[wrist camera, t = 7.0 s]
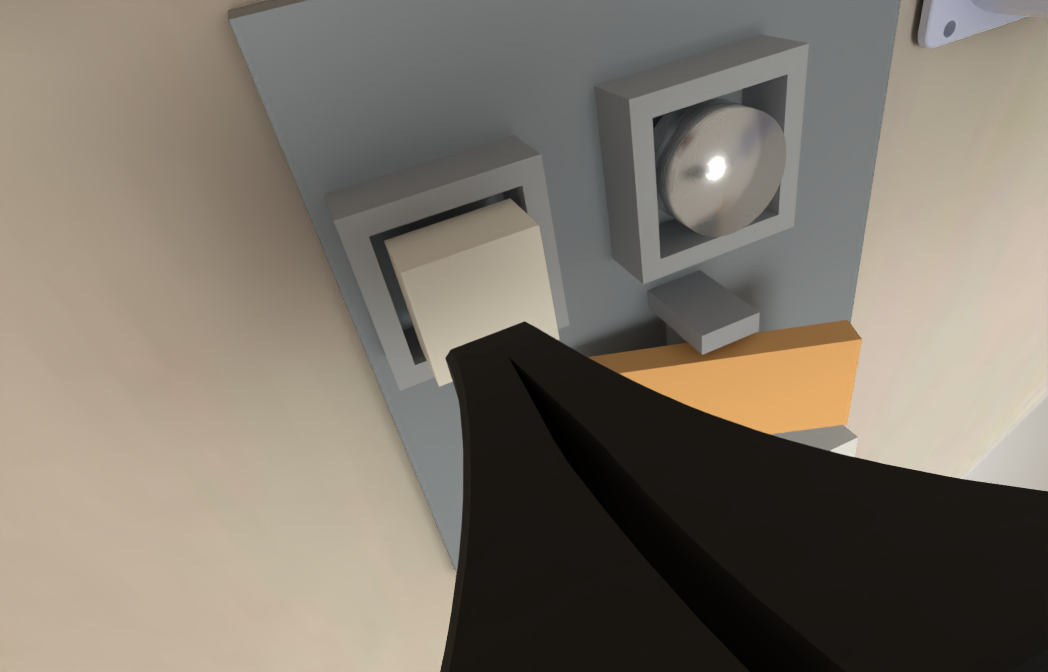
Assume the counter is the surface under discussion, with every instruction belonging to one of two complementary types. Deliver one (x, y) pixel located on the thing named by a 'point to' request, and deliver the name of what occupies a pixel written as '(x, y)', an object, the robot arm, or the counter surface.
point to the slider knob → (825, 439)
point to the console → (570, 165)
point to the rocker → (757, 376)
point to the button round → (717, 165)
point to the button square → (472, 279)
